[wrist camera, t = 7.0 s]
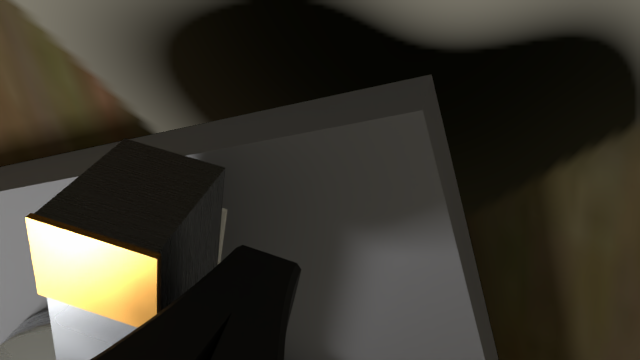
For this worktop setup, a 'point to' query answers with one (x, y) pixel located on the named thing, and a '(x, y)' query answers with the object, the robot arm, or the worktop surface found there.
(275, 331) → the robot arm
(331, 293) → the dial plate
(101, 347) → the dial
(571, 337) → the worktop surface
